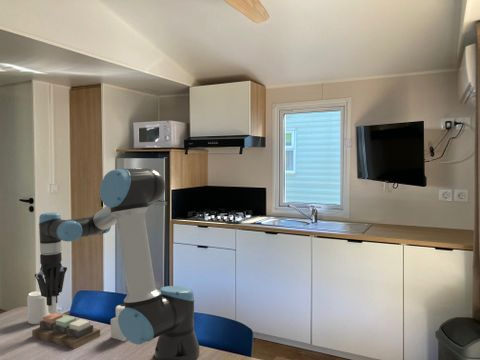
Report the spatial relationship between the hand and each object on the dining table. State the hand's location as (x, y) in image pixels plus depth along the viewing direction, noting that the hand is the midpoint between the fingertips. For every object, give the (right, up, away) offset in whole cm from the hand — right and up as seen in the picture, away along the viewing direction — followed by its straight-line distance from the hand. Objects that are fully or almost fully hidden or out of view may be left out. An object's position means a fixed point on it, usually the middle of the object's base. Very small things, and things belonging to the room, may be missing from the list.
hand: (52, 312), depth 156 cm
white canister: (-11, -8, +12) cm, 18 cm away
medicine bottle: (+29, -8, -4) cm, 31 cm away
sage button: (+7, -4, -3) cm, 9 cm away
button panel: (+7, -8, -3) cm, 11 cm away
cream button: (+13, -4, -7) cm, 16 cm away
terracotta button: (0, -4, 0) cm, 4 cm away
